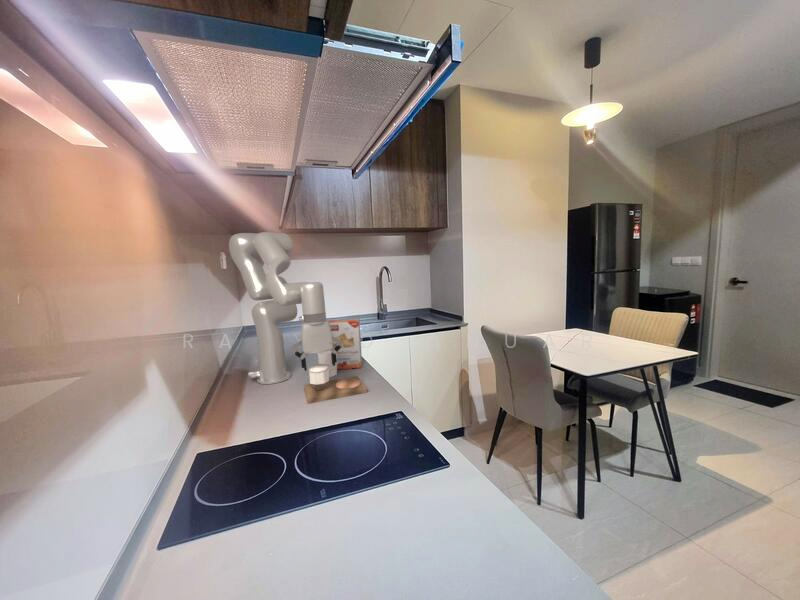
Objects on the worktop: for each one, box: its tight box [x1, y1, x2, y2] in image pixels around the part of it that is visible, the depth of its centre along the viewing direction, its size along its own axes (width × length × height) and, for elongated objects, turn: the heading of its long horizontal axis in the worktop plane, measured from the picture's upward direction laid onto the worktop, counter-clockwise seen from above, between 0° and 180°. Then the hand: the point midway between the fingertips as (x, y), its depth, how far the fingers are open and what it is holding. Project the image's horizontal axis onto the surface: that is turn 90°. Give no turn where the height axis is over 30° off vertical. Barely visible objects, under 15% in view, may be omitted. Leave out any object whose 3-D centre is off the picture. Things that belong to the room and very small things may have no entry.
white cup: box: [316, 350, 338, 378], centre depth 130 cm, size 8×8×10 cm
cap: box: [308, 363, 330, 385], centre depth 111 cm, size 7×7×5 cm
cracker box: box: [327, 318, 363, 370], centre depth 138 cm, size 14×6×21 cm, turn 92°
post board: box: [303, 375, 368, 405], centre depth 113 cm, size 20×14×8 cm
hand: (319, 367), depth 111 cm, fingers open, 9 cm apart
